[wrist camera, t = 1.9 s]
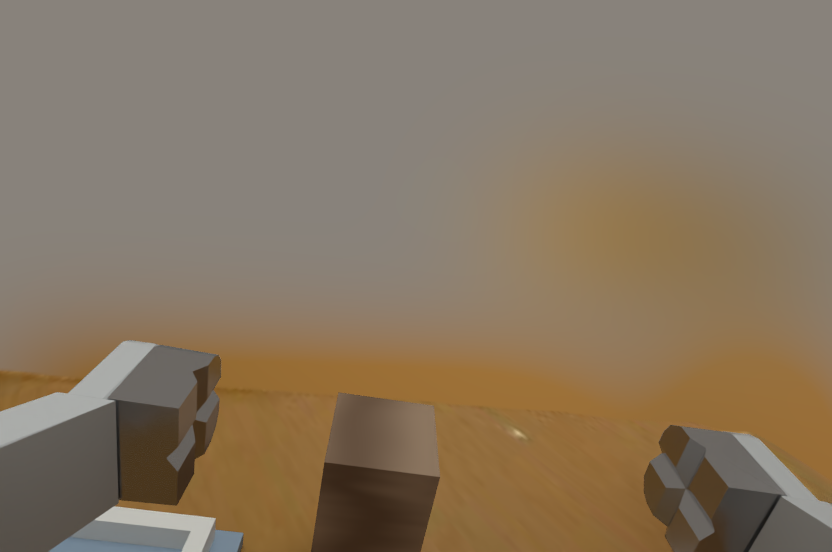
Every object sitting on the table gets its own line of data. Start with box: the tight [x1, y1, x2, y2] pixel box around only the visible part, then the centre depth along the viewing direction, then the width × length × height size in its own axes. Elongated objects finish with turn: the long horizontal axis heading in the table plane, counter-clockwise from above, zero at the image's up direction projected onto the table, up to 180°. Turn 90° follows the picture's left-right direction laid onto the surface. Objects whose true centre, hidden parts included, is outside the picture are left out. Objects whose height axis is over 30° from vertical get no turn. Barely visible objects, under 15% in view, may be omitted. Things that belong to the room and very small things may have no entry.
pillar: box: [311, 393, 440, 552], centre depth 26 cm, size 5×5×12 cm
